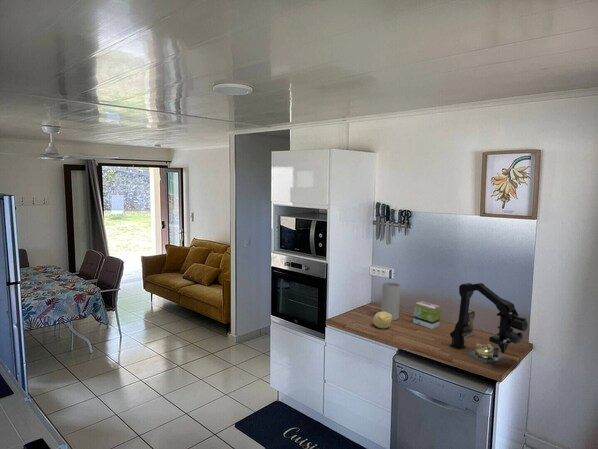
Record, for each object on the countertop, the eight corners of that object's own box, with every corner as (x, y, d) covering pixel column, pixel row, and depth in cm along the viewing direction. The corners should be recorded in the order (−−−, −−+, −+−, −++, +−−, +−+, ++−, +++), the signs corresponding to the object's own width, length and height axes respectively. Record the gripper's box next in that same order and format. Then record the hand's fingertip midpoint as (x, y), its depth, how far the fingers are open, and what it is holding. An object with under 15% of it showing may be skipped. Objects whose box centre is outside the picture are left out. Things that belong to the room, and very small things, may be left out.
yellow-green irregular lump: (471, 350, 236) (472, 336, 235) (490, 350, 236) (491, 337, 236) (486, 363, 219) (487, 348, 218) (506, 363, 219) (507, 349, 218)
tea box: (412, 323, 285) (413, 302, 283) (420, 320, 292) (421, 300, 290) (432, 329, 274) (433, 308, 272) (439, 326, 280) (441, 305, 279)
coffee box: (465, 338, 260) (467, 313, 258) (456, 334, 265) (458, 310, 263) (473, 335, 265) (475, 311, 263) (464, 332, 270) (466, 308, 268)
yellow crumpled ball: (382, 331, 268) (383, 315, 266) (369, 325, 277) (370, 310, 276) (394, 328, 274) (395, 312, 273) (381, 322, 284) (381, 307, 283)
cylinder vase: (383, 314, 303) (385, 281, 301) (400, 317, 298) (402, 283, 295) (379, 319, 292) (380, 285, 289) (396, 322, 287) (398, 287, 284)
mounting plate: (466, 354, 234) (467, 352, 233) (484, 350, 240) (485, 348, 240) (486, 364, 222) (486, 361, 222) (504, 359, 229) (504, 356, 228)
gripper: (509, 333, 208) (506, 362, 210) (530, 327, 218) (527, 355, 219) (489, 326, 218) (487, 354, 220) (510, 321, 227) (508, 347, 229)
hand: (503, 352), depth 222 cm, fingers closed
